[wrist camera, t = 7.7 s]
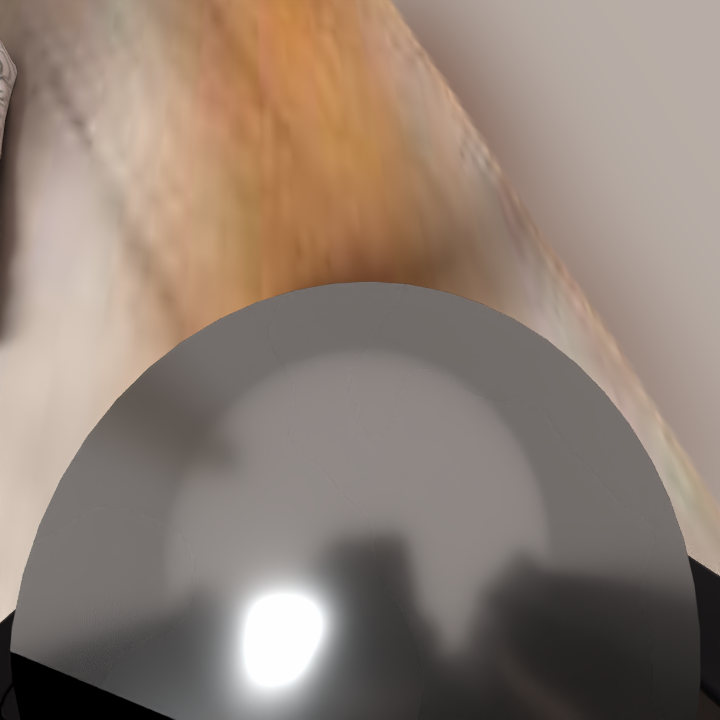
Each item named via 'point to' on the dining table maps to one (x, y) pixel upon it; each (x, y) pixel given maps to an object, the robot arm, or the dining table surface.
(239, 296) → the dining table surface
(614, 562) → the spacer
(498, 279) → the dining table surface
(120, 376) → the dining table surface
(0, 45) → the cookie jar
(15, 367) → the dining table surface
